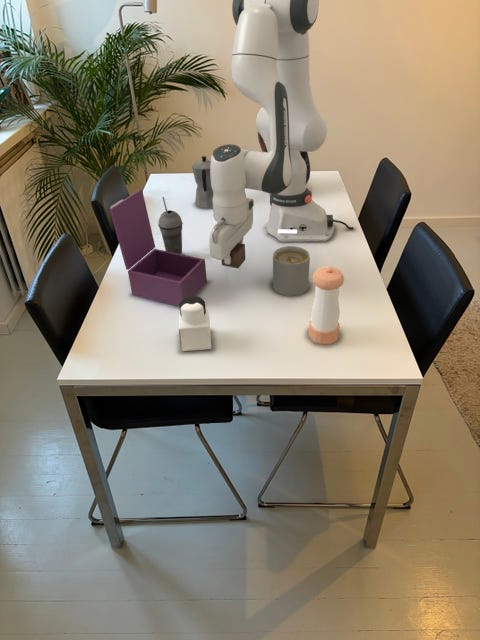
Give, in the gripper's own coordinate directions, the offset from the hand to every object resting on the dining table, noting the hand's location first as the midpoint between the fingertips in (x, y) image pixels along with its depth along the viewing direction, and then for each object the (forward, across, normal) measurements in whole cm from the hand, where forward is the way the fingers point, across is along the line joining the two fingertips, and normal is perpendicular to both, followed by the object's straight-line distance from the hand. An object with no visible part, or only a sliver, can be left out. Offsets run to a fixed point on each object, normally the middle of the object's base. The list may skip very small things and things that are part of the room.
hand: (233, 257), depth 138 cm
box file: (+8, -9, +16) cm, 20 cm away
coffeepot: (+9, +46, +32) cm, 57 cm away
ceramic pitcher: (+10, +69, +11) cm, 70 cm away
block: (+2, 0, 0) cm, 2 cm away
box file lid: (-9, -9, +25) cm, 28 cm away
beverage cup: (+9, +7, +24) cm, 26 cm away
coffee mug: (+9, +6, -15) cm, 18 cm away
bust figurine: (+8, -28, -2) cm, 29 cm away
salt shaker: (+9, -14, -30) cm, 34 cm away
